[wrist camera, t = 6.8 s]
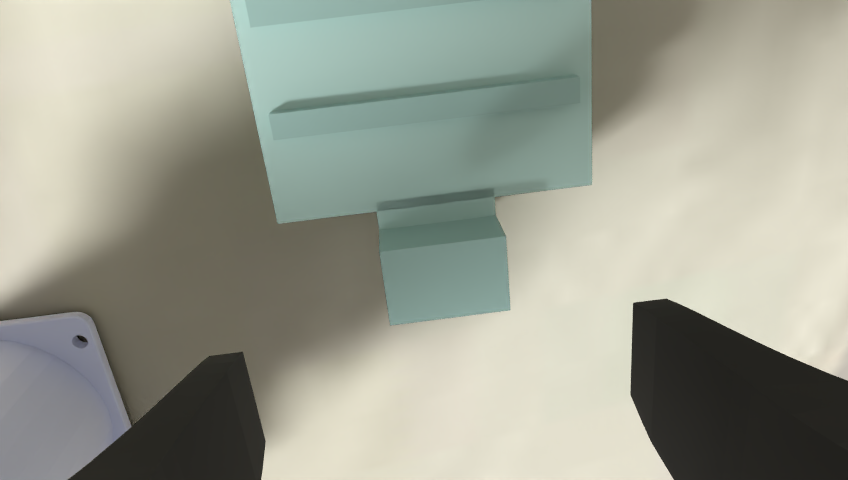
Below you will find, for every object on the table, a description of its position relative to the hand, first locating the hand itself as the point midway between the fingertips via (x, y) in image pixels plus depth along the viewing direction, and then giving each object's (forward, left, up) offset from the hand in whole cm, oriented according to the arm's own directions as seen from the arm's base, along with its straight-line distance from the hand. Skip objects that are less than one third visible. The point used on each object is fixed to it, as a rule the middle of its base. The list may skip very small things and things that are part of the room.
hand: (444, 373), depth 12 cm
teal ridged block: (+5, 0, -9) cm, 11 cm away
